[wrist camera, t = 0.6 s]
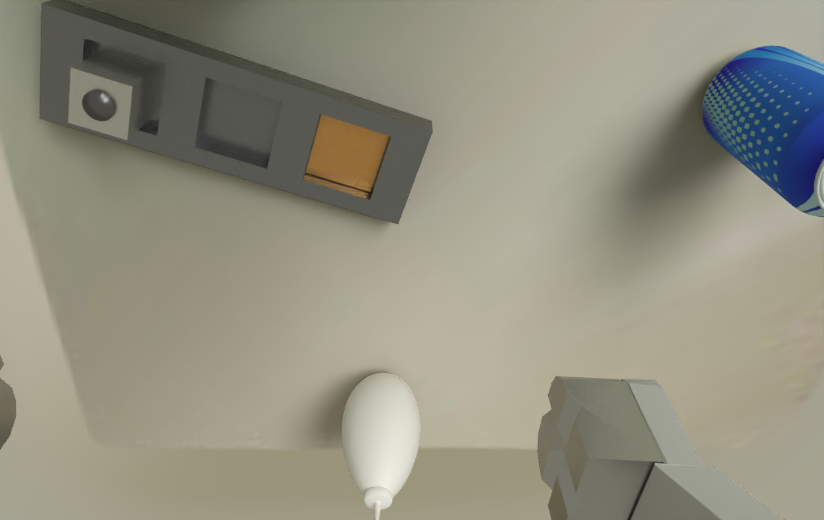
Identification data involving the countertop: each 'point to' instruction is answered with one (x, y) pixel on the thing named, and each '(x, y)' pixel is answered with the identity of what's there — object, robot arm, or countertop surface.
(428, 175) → the countertop surface
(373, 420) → the white teardrop vase
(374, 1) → the countertop surface
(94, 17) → the grey compartment tray
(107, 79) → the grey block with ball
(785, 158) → the beer can
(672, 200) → the countertop surface
